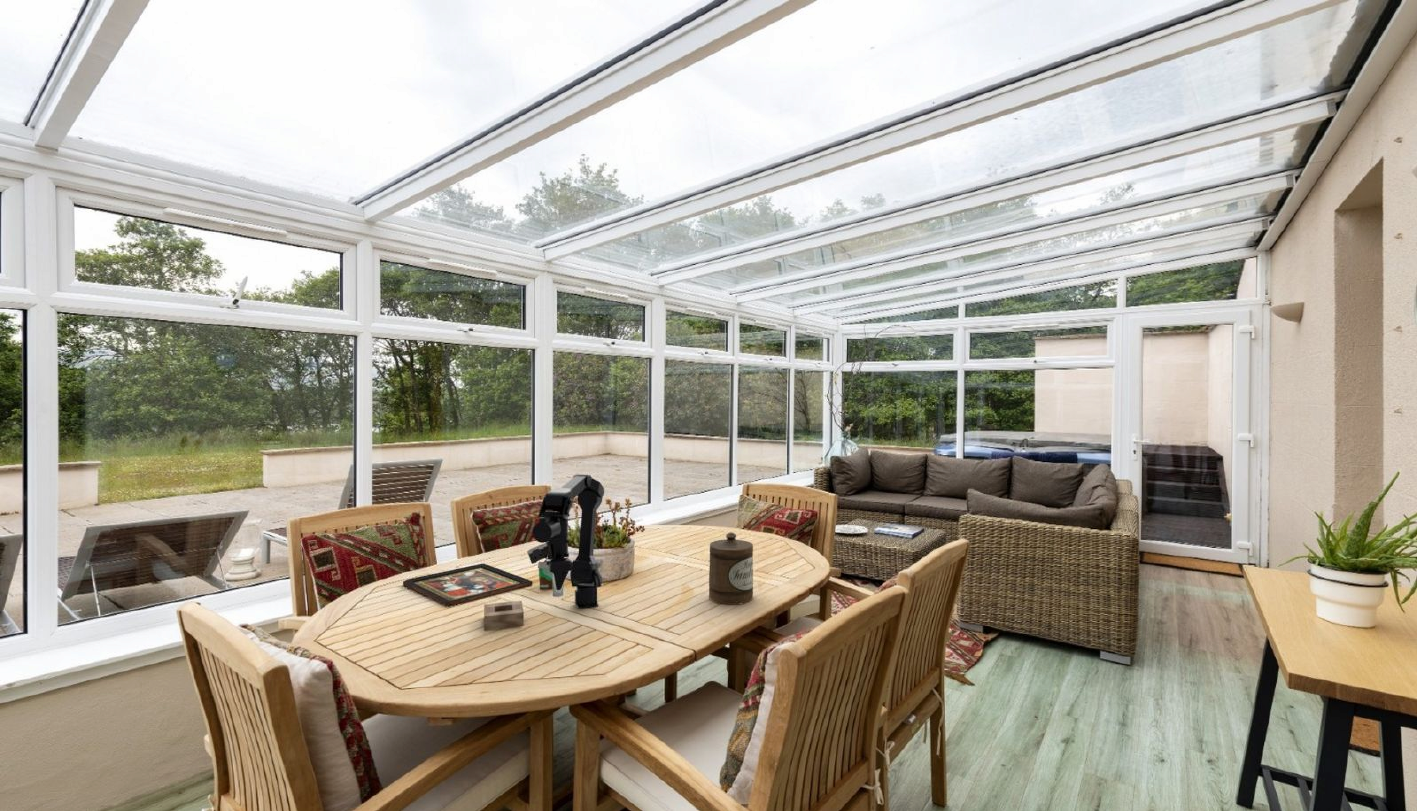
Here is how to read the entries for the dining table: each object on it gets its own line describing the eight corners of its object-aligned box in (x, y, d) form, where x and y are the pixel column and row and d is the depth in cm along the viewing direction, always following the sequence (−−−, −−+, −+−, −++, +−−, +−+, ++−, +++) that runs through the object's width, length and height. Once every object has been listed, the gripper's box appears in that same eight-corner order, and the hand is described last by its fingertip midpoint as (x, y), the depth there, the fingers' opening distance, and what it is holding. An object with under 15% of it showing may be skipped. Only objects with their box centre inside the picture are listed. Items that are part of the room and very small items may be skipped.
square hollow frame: (521, 613, 196) (521, 600, 195) (523, 625, 185) (523, 612, 185) (484, 617, 192) (484, 604, 192) (484, 630, 181) (484, 616, 181)
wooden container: (740, 607, 201) (740, 539, 201) (701, 600, 209) (701, 534, 208) (760, 595, 214) (760, 530, 214) (722, 588, 221) (722, 526, 221)
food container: (554, 591, 217) (554, 563, 217) (537, 590, 218) (537, 562, 218) (569, 581, 229) (569, 554, 229) (553, 580, 230) (553, 553, 230)
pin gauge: (562, 593, 184) (562, 566, 184) (563, 596, 181) (563, 568, 181) (552, 594, 183) (552, 567, 183) (553, 597, 180) (553, 569, 180)
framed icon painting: (391, 589, 221) (391, 581, 221) (478, 567, 250) (478, 560, 250) (454, 612, 199) (454, 603, 199) (541, 585, 228) (541, 577, 228)
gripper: (526, 530, 188) (527, 582, 188) (531, 544, 170) (531, 601, 171) (564, 527, 192) (564, 578, 192) (572, 541, 174) (573, 596, 174)
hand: (557, 588), depth 182 cm, fingers closed on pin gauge, 3 cm apart
